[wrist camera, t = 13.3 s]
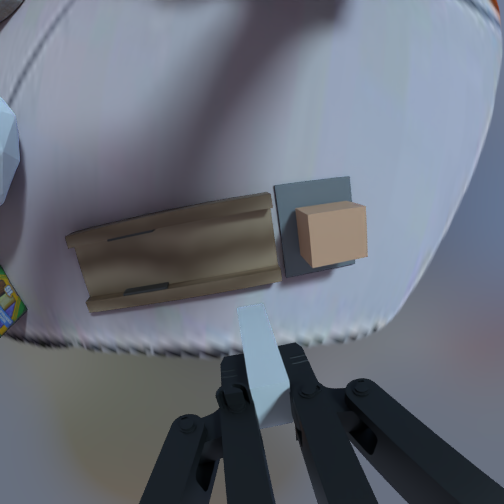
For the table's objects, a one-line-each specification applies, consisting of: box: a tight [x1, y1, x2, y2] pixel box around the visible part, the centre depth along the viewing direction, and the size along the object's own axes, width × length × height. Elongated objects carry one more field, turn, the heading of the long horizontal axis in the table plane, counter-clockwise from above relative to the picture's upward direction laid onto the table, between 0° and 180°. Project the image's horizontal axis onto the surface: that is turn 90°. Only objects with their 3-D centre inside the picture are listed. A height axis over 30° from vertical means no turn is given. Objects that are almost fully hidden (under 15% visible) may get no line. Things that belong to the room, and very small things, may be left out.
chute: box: [65, 192, 282, 313], centre depth 33 cm, size 11×26×2 cm, turn 99°
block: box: [295, 201, 368, 268], centre depth 33 cm, size 6×7×5 cm
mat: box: [274, 176, 355, 278], centre depth 36 cm, size 12×10×1 cm
